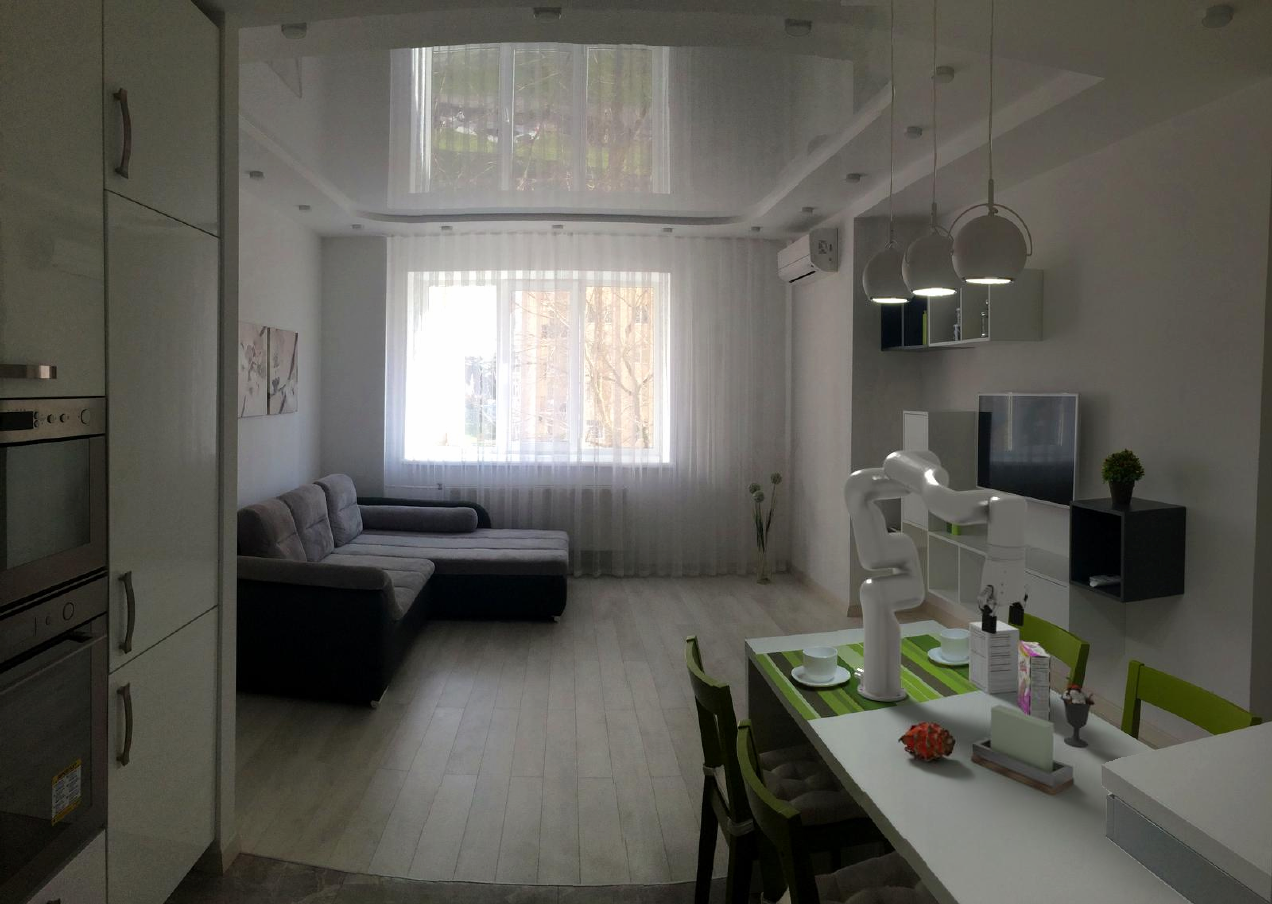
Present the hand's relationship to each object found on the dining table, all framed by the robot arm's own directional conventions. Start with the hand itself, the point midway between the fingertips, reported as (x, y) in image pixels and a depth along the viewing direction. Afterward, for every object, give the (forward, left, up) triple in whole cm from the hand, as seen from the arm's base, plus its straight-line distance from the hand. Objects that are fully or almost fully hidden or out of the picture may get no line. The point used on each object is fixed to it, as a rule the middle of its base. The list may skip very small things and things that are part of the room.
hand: (1002, 628), depth 176 cm
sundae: (+7, +18, -28) cm, 34 cm away
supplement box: (-24, +34, -28) cm, 50 cm away
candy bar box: (-8, +26, -28) cm, 39 cm away
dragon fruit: (-7, -16, -28) cm, 33 cm away
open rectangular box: (+8, -5, -28) cm, 30 cm away
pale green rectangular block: (+8, -5, -27) cm, 28 cm away
